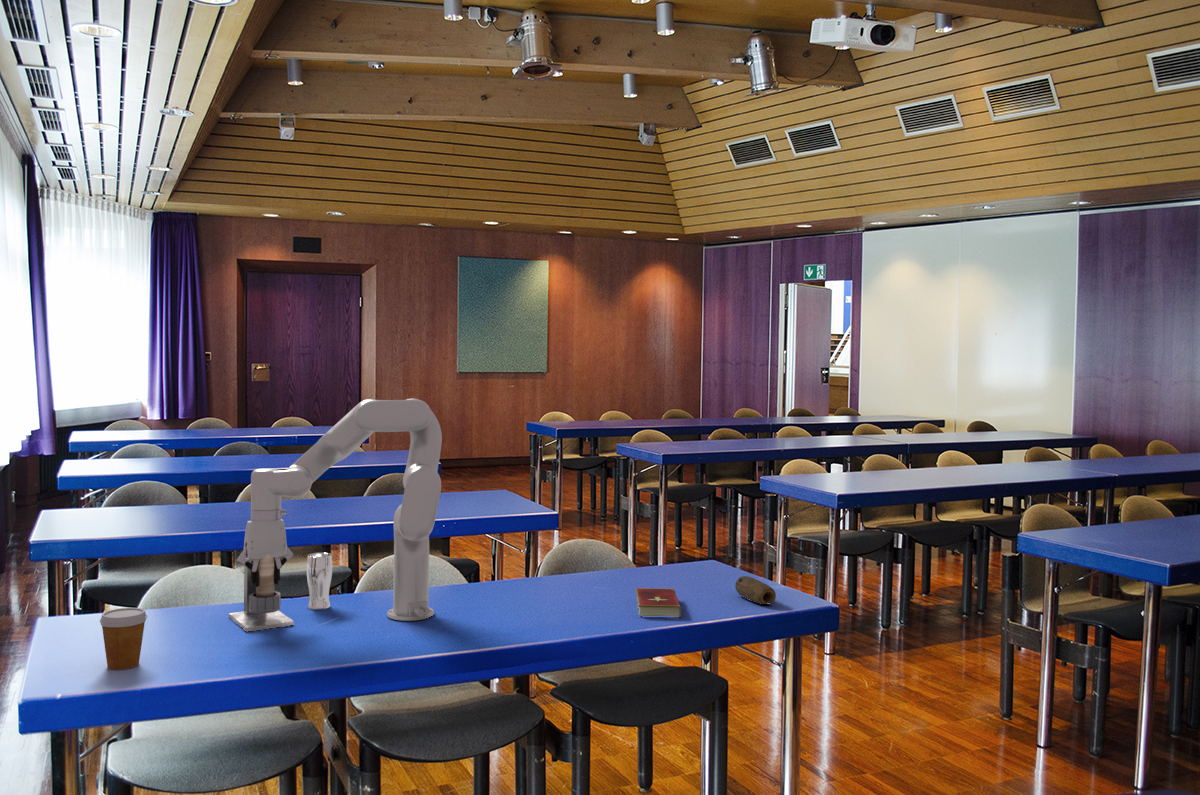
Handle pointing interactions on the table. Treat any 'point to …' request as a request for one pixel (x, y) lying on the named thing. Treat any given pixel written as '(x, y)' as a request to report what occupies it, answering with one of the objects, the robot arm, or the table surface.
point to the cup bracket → (259, 608)
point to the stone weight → (755, 590)
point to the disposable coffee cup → (123, 636)
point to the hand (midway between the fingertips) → (265, 583)
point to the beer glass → (319, 580)
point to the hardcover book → (658, 602)
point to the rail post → (265, 577)
